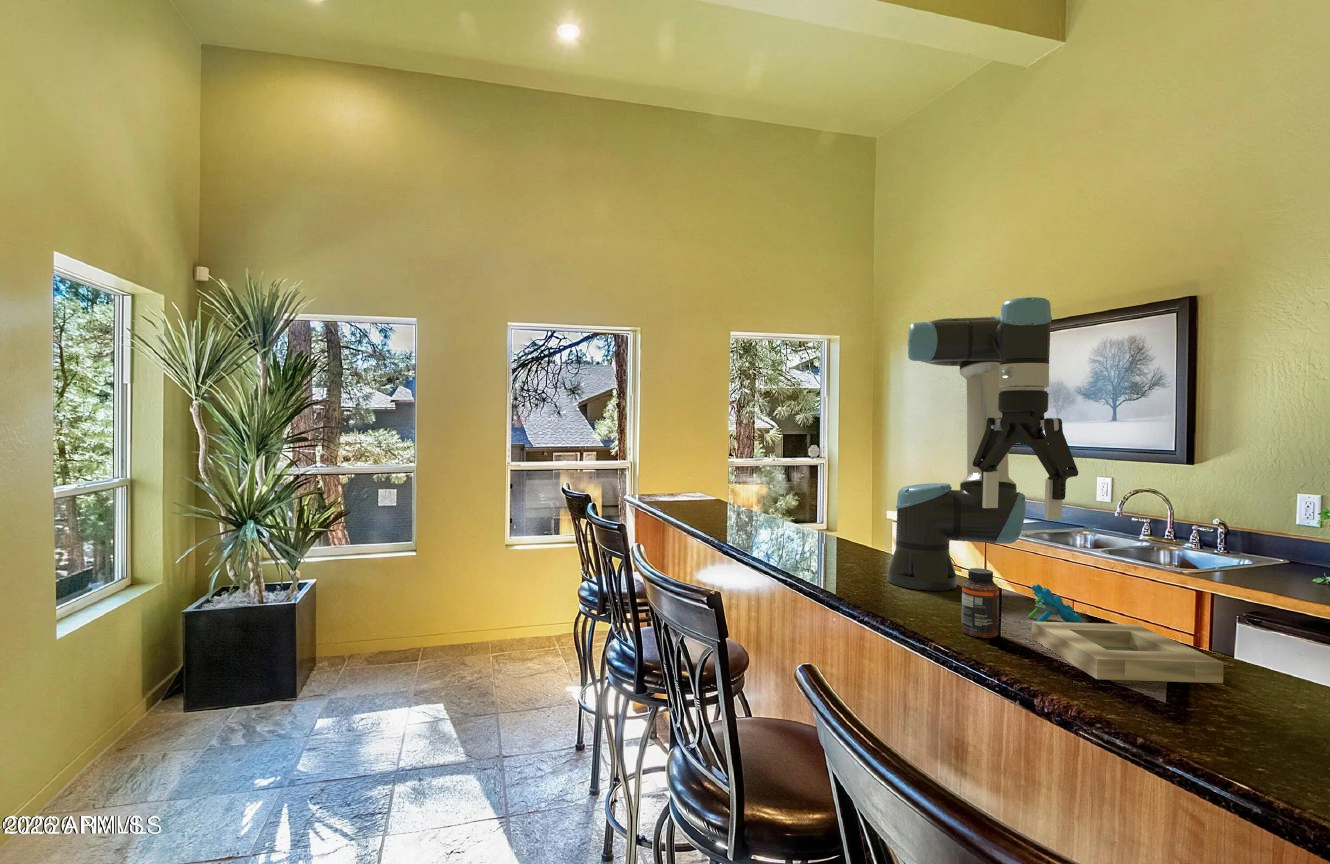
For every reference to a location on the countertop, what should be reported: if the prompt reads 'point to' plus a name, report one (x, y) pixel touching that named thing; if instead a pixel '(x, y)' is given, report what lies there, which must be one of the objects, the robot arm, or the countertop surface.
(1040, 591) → the gear
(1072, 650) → the socket holder
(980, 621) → the supplement bottle
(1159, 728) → the countertop surface
